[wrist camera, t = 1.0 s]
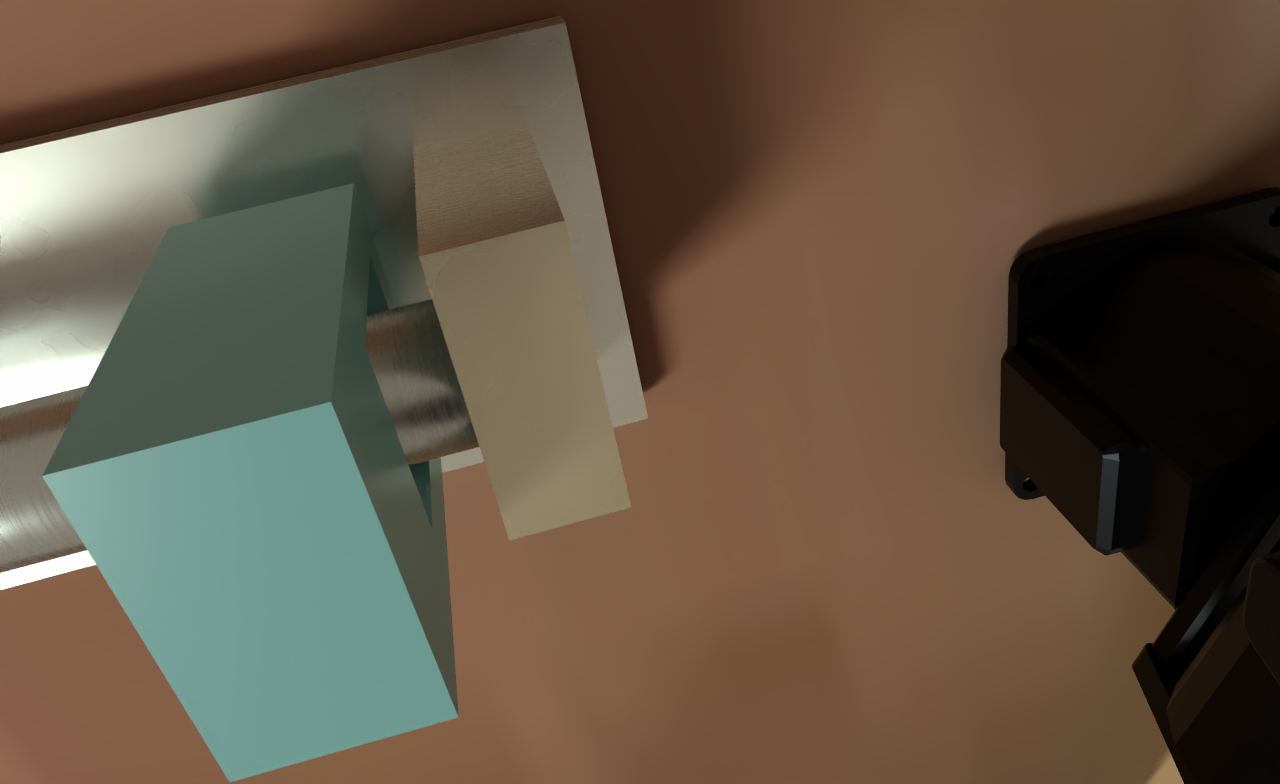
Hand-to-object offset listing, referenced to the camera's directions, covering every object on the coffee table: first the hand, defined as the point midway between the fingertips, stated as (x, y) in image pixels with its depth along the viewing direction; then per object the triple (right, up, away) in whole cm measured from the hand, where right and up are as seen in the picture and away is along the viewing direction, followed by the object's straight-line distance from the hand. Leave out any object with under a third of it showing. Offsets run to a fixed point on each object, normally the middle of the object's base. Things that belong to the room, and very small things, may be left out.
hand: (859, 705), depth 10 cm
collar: (-8, +4, +8) cm, 12 cm away
